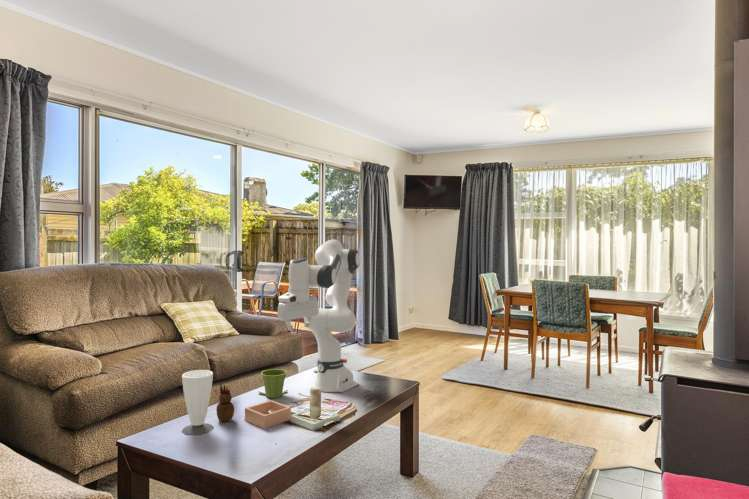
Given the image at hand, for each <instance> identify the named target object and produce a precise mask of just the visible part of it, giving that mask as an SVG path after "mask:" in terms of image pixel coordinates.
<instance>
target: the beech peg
mask: <svg viewBox="0 0 749 499" xmlns="http://www.w3.org/2000/svg"><path fill="white" fill-rule="evenodd" d="M321 408H322V391H321V388H318V387H315V386H314V387H311V388H310V389H309V409H310V419H317V418H319V417H320V416H321Z"/></svg>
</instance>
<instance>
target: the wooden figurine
mask: <svg viewBox="0 0 749 499" xmlns="http://www.w3.org/2000/svg"><path fill="white" fill-rule="evenodd" d="M219 388H220V390H219V391H220V394H219V397H218V401H219V402H218V404H217V405H216V416H217V419H218V421H220V422H222V423H228V422H230V421H232V419H233V417H234V415H235V406H234V403H233V402H232V398H233V397H232V394H231V391H230V389H228V387H226V384H222V383H220V386H219Z"/></svg>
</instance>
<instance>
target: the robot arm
mask: <svg viewBox="0 0 749 499" xmlns="http://www.w3.org/2000/svg"><path fill="white" fill-rule="evenodd" d="M314 259H315V262H316V265H315V264H314V265H313V264H309V260H308V259H307V258H305V257H298V258H295V257H294V258H293V259H291V260H290V262H289V266H288V281H289V286H288V290H287V292H286V293H283V294H282V295H281V294H280V295H279V296H278V302H279V303H278V305H277V319H278V320H279V321H283V322H284V323H285V324H286V326H287V330H288V331H293V329H294V328H293V327H294V326H293V325H291V323H292V320H297V319H303V320H304V321H303V322H304V327H305V328H307V329H308V330H310V331H311V333H312V334H313V335H314V337H315V340H316V342H317V354H318V359H317V361H316V362H317V365H316V366H317V371H316V372H317V373H316V382H315V386H314V387H318V388H321V392H323V393H335V392H337V393H339V392H340V393H342V392H346V391H347V390H350V389H352V388H354V387H356V386H358V385H359V382H358V381H357V380H356V379H354V374H353V372H352V371H351V370H350V369H349V368H347V367H346V366H345V365H344V364H347V362H348V359H347V358H342V344H341V342H340V341H339V340H338V339H336V338H335V337H334V336H333V335H332V334H331V332H335V333H336V332H338V333H345V332H346V333H347V332H351V331H352V330H353V329H354V328H355V326H356V324H357V322H356V321H357V318H356V316H355V313H354V312H353V311H352V310H350V308H349V306H348V298H349V294H350V289H351V285H352V284H351V283H352V275H351V274H353V273H355V272H356V270H357V269H358V268H359V266H361V265H360V264H361V254H360V252H359V251H358V250H357V249H354V248H350V249H349V248H344V247H343V244H342V242H340V240H338V239H334V238H332V239H329V240H326V241H325V242H323V243H322V244H321V245H319V247H318V248H316V251H315V253H314ZM310 288H324V289H326V293H325V297H324V298H325V299H324V300H325V301H326V303H327V304H328V306H330V307H332V308H326V307H325V308H323V307H319V302H318V296H317V295H315V294H310Z"/></svg>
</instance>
